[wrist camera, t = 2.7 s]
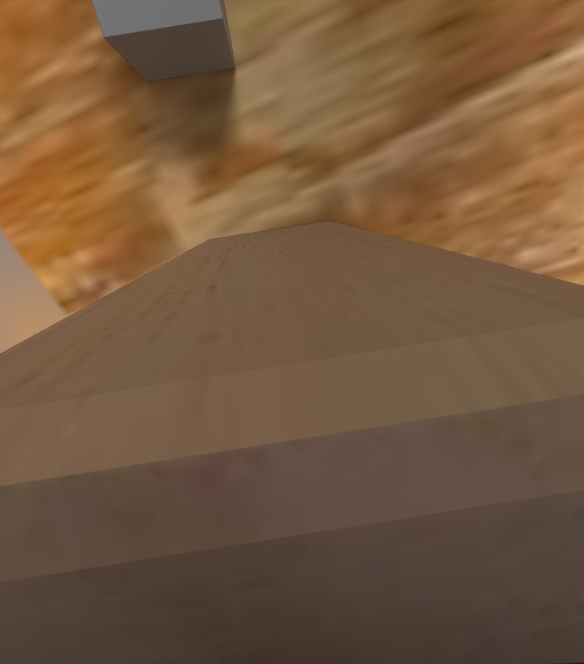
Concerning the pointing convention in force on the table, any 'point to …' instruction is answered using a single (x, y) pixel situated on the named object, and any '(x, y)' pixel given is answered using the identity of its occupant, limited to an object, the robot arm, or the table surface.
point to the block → (299, 462)
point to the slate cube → (168, 35)
